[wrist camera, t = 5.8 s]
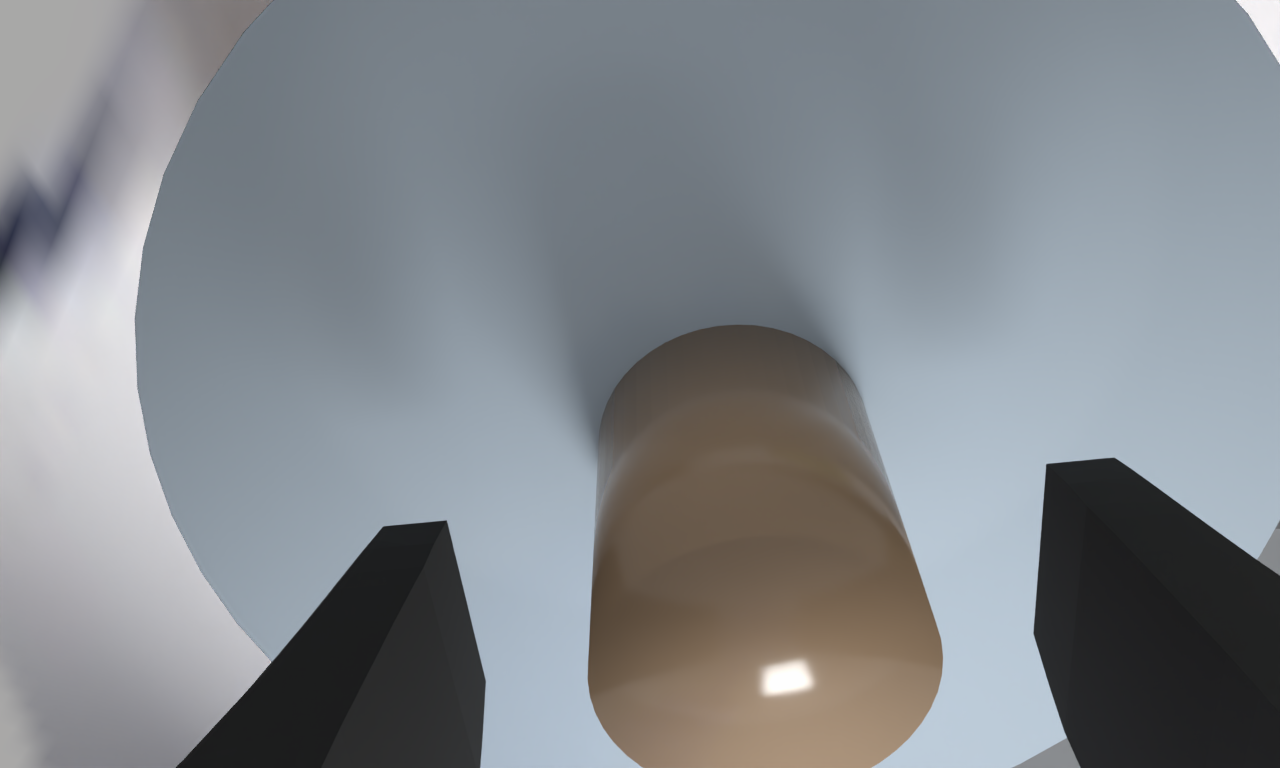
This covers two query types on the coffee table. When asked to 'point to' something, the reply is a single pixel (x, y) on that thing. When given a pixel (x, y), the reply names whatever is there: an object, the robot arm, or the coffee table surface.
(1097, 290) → the lid
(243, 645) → the coffee table surface
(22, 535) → the coffee table surface
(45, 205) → the coffee table surface
